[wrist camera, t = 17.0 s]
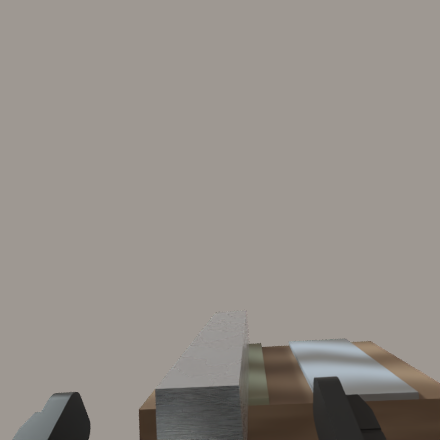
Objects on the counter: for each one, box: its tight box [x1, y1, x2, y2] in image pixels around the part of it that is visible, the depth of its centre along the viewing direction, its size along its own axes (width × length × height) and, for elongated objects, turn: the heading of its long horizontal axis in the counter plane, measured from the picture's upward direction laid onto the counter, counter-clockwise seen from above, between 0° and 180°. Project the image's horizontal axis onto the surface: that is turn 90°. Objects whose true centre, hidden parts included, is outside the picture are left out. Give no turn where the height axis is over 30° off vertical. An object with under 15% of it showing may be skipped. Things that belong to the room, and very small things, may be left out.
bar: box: [155, 311, 249, 440], centre depth 23 cm, size 22×4×4 cm, turn 174°
